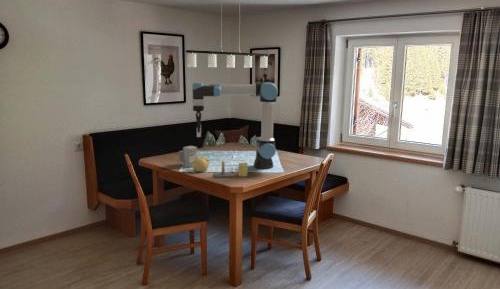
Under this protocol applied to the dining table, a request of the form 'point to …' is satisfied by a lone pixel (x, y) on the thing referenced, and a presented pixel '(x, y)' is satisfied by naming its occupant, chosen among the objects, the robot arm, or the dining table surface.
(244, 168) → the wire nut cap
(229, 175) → the grey plate with rod
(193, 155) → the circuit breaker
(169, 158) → the dining table surface
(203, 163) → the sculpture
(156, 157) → the dining table surface
